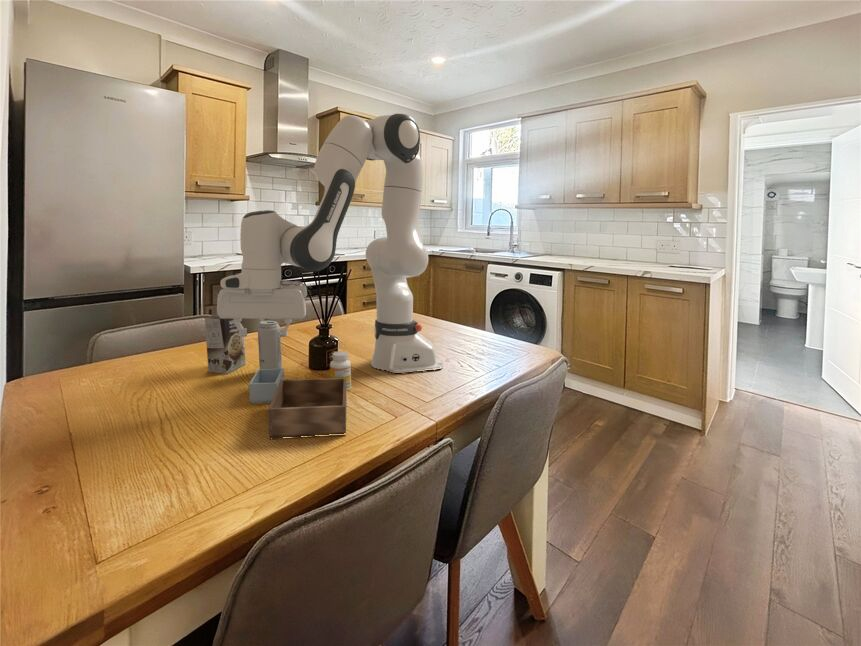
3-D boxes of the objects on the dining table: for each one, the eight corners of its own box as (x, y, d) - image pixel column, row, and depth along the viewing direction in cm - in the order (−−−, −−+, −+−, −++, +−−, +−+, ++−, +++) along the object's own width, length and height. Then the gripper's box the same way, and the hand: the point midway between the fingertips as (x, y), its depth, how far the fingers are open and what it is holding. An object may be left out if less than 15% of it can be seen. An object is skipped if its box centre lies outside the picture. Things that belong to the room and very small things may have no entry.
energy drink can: (259, 370, 131) (257, 320, 128) (281, 368, 134) (279, 319, 130) (260, 377, 126) (257, 325, 123) (282, 375, 128) (280, 324, 125)
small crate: (284, 386, 120) (283, 368, 119) (277, 402, 109) (277, 383, 108) (259, 387, 119) (258, 369, 117) (250, 403, 108) (248, 384, 107)
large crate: (346, 403, 110) (346, 378, 109) (345, 435, 94) (345, 406, 92) (281, 405, 108) (280, 379, 106) (269, 439, 91) (267, 409, 90)
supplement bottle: (331, 384, 122) (331, 350, 120) (351, 384, 123) (351, 350, 121) (329, 391, 117) (328, 356, 115) (349, 391, 117) (349, 356, 115)
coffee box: (227, 374, 127) (223, 318, 124) (207, 372, 129) (203, 317, 125) (246, 364, 136) (243, 312, 133) (227, 362, 137) (224, 311, 134)
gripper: (308, 279, 112) (308, 333, 115) (220, 277, 109) (223, 332, 112) (305, 282, 106) (306, 339, 109) (212, 280, 103) (216, 339, 105)
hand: (263, 336), depth 110 cm, fingers open, 8 cm apart
